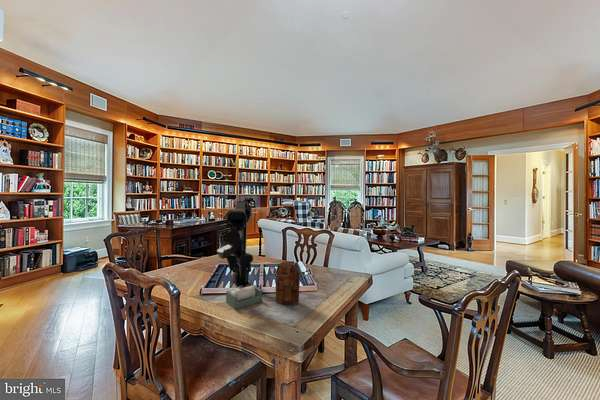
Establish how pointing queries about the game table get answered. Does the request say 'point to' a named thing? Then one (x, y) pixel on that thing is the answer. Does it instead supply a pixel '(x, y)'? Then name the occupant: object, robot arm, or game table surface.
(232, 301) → the grey-green grooved block
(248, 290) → the roll
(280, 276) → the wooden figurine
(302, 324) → the game table surface
